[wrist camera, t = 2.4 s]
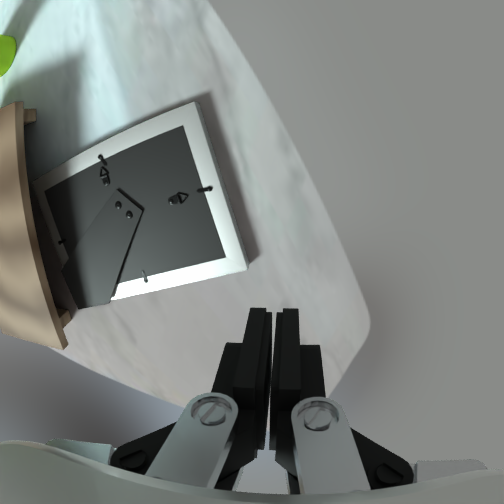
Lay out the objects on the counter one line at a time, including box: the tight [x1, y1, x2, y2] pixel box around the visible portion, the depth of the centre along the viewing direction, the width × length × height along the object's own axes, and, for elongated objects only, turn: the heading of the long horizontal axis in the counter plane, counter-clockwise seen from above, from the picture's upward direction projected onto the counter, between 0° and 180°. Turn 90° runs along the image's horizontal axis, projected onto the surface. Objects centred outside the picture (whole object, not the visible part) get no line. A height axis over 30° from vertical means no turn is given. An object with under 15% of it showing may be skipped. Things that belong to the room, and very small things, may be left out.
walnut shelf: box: [0, 102, 71, 350], centre depth 28 cm, size 27×12×6 cm, turn 2°
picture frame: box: [33, 101, 250, 309], centre depth 29 cm, size 16×3×21 cm
